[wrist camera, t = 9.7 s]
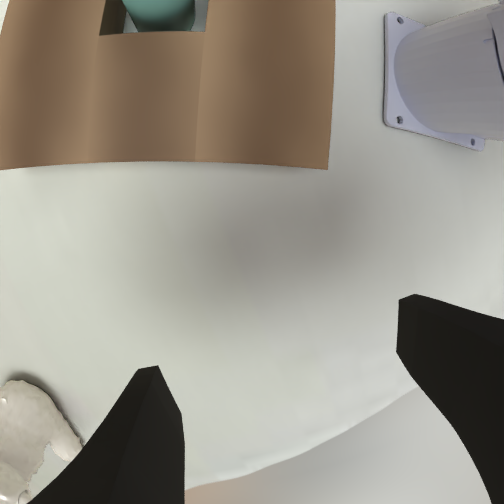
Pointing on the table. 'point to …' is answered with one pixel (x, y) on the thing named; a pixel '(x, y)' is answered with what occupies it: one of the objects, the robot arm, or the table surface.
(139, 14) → the peg
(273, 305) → the table surface
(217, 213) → the table surface
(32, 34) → the socket block
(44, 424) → the white creature statuette
